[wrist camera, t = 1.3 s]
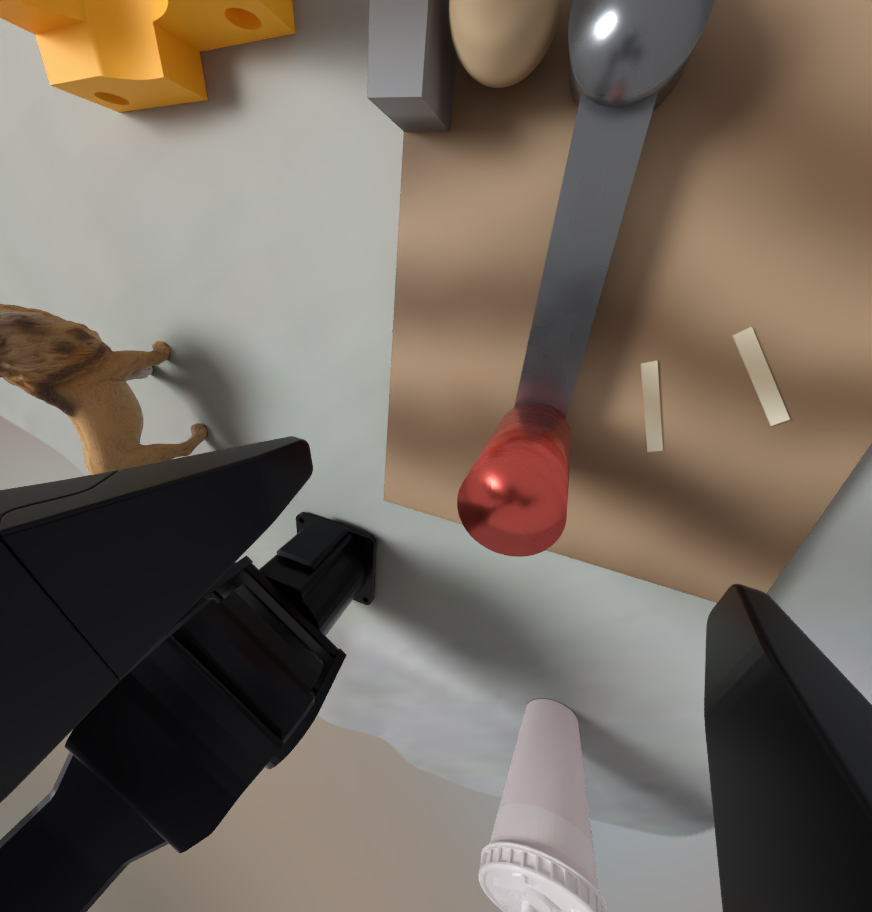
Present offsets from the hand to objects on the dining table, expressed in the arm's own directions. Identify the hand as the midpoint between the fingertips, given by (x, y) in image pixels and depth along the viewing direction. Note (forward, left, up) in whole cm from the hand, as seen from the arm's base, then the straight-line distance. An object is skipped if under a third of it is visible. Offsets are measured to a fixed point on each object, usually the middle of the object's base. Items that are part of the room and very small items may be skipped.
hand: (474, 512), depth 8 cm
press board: (+3, -3, -12) cm, 13 cm away
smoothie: (-24, -7, -12) cm, 27 cm away
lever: (+7, -1, -11) cm, 13 cm away
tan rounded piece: (+12, +3, -11) cm, 17 cm away
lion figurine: (-6, +26, -12) cm, 30 cm away
